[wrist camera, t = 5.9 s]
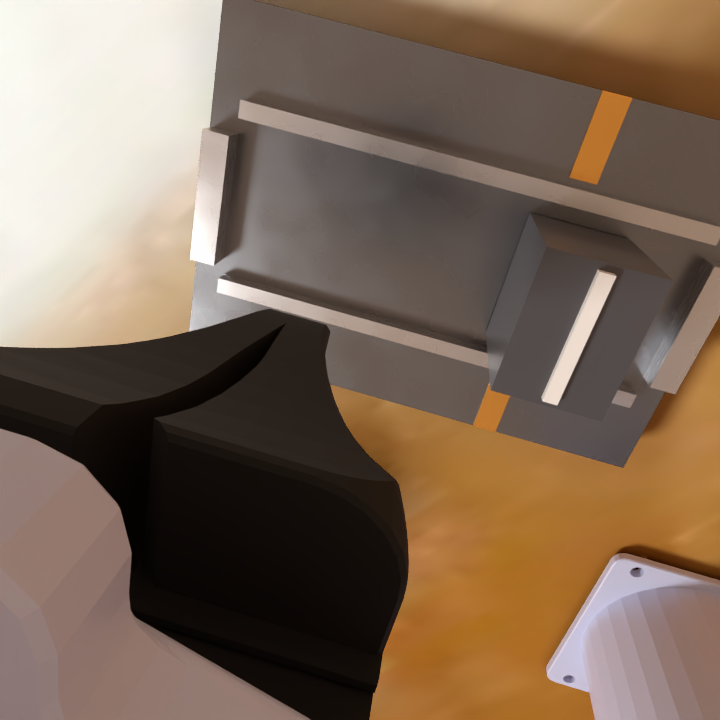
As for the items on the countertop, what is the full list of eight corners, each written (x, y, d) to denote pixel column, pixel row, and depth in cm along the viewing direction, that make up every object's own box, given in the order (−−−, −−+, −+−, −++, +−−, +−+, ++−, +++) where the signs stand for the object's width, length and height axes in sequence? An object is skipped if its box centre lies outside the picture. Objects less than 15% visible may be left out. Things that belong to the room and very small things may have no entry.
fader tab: (630, 239, 17) (676, 283, 13) (576, 358, 19) (603, 425, 15) (530, 212, 17) (548, 248, 13) (485, 333, 19) (490, 394, 15)
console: (776, 137, 17) (820, 145, 14) (613, 443, 22) (629, 481, 19) (242, -1, 17) (212, -12, 15) (204, 327, 22) (178, 353, 20)
